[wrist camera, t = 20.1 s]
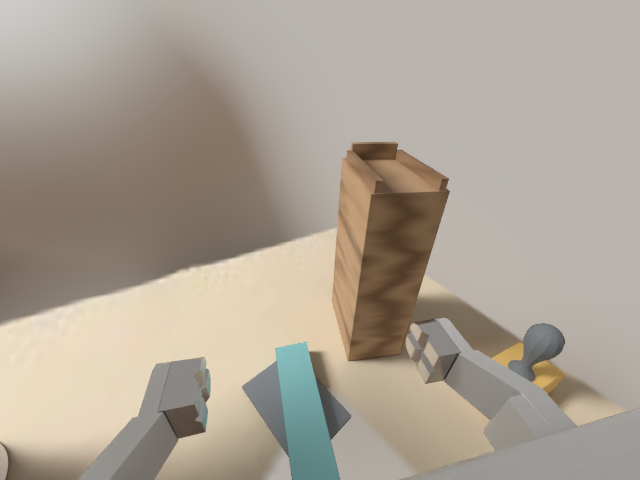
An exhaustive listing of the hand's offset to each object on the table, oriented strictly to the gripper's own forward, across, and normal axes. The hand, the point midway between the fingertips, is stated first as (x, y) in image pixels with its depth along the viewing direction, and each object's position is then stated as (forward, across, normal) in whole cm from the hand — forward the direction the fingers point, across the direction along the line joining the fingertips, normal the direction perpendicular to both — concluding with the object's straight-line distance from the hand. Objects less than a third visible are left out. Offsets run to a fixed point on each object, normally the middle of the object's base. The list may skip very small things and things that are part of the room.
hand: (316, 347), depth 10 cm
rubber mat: (+11, -1, +26) cm, 29 cm away
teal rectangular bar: (+8, -2, +26) cm, 27 cm away
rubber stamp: (+7, -30, +26) cm, 40 cm away
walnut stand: (+21, -14, +26) cm, 36 cm away
